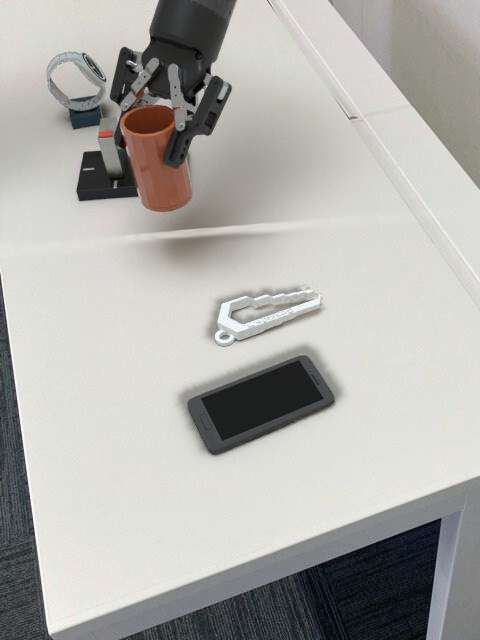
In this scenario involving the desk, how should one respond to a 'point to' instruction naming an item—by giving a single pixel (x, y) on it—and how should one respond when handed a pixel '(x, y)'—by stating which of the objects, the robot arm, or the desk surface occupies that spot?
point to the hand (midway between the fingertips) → (145, 156)
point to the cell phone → (259, 403)
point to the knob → (111, 148)
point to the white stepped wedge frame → (259, 325)
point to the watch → (83, 108)
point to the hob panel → (103, 179)
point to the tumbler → (155, 158)
